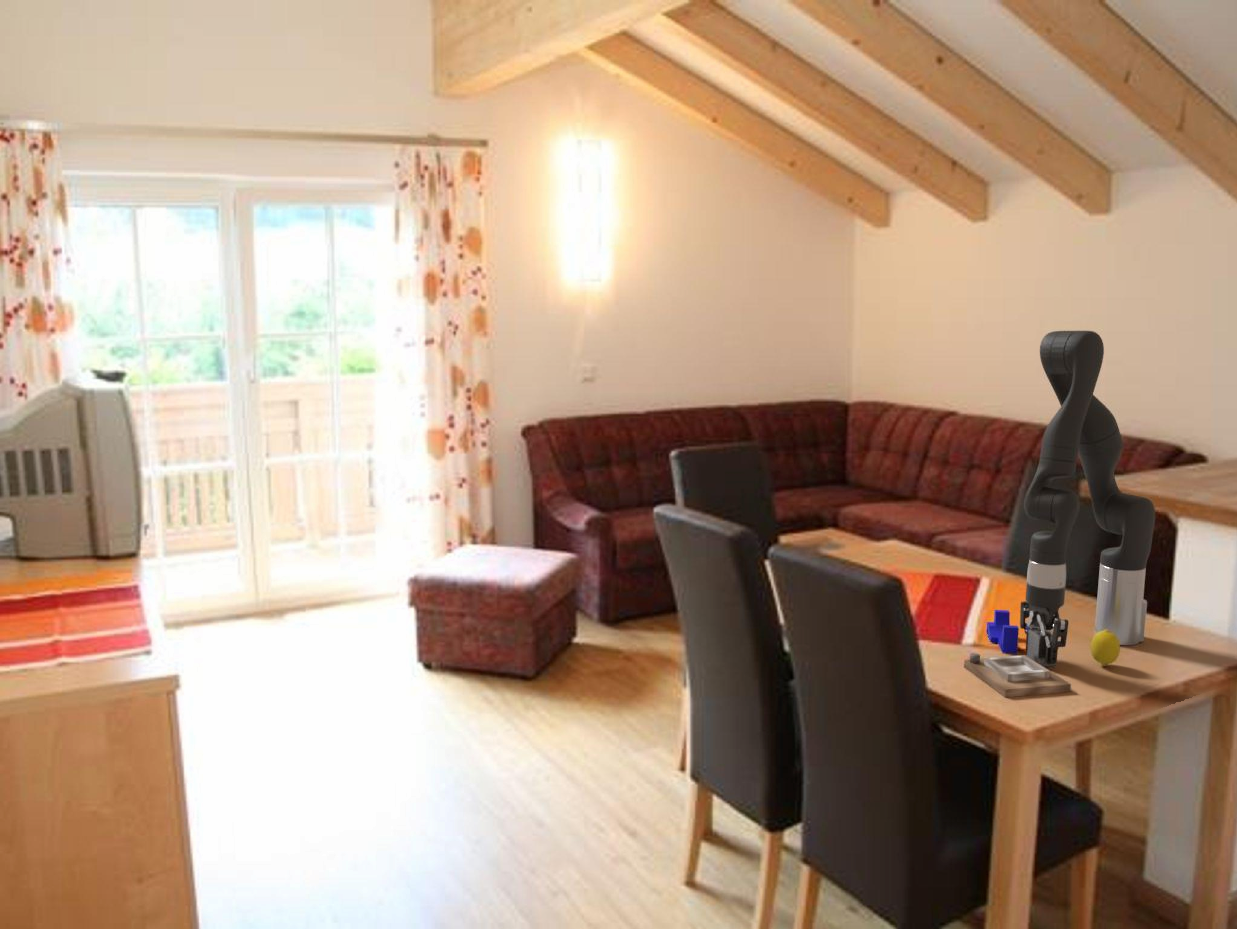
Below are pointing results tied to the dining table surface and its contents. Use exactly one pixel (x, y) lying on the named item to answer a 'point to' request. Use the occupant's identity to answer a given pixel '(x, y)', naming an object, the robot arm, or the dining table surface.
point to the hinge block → (1037, 647)
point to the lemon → (1105, 647)
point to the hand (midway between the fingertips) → (1040, 657)
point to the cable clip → (1003, 632)
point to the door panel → (1016, 675)
